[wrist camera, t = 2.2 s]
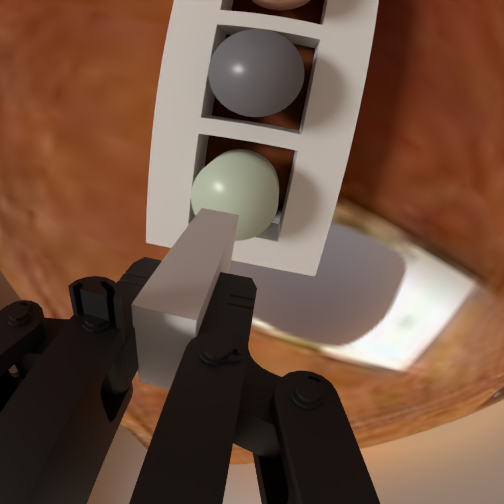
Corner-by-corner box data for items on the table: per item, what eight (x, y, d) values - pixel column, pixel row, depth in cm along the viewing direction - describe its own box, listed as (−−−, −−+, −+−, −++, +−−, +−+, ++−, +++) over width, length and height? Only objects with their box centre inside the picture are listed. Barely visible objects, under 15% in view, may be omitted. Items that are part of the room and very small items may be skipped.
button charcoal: (227, 35, 15) (216, 24, 13) (307, 48, 15) (311, 38, 12) (214, 108, 17) (201, 110, 15) (293, 122, 17) (294, 125, 15)
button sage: (209, 143, 18) (196, 150, 16) (286, 156, 18) (286, 166, 16) (199, 214, 21) (187, 232, 18) (271, 227, 21) (269, 248, 18)
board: (208, -65, 13) (198, -83, 10) (374, -41, 13) (384, -57, 10) (160, 226, 24) (145, 242, 21) (312, 256, 24) (314, 276, 21)
